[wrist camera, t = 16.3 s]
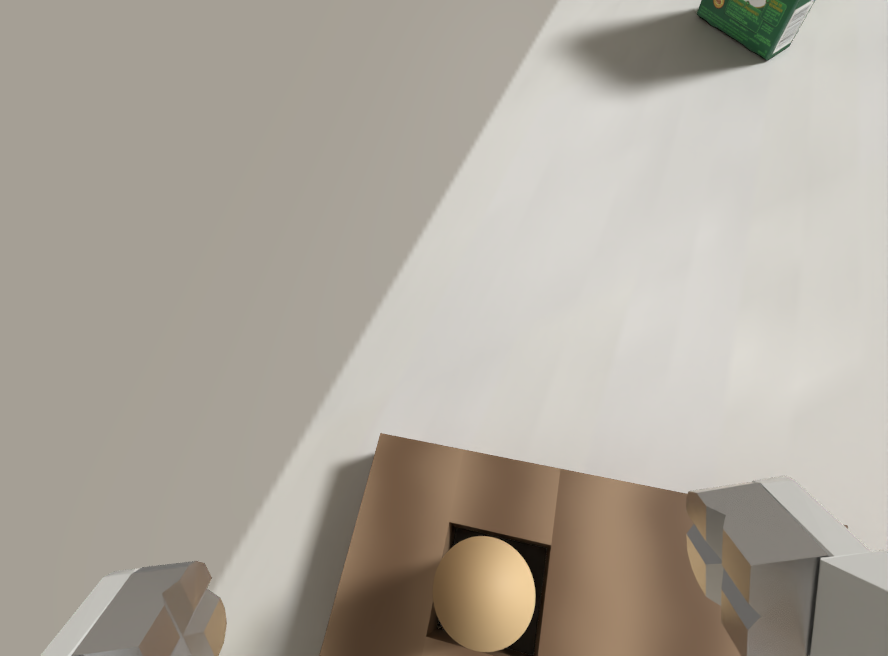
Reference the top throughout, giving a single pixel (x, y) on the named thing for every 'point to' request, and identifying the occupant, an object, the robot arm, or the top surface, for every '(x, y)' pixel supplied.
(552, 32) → the top surface
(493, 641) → the oak peg
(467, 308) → the top surface
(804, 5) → the coffee box
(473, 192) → the top surface
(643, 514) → the walnut board
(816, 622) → the robot arm
